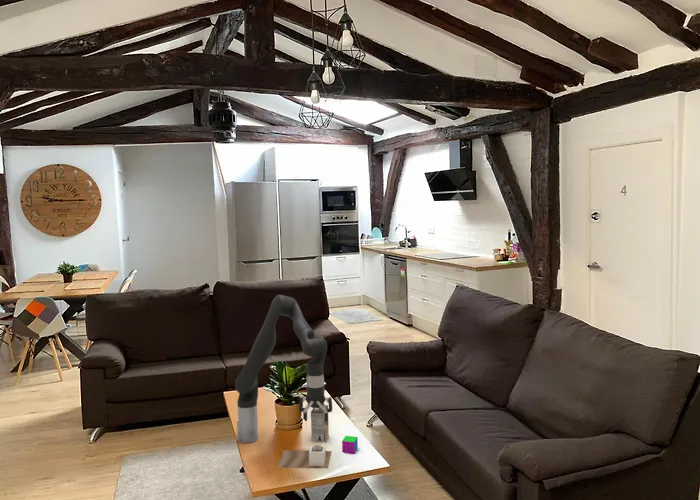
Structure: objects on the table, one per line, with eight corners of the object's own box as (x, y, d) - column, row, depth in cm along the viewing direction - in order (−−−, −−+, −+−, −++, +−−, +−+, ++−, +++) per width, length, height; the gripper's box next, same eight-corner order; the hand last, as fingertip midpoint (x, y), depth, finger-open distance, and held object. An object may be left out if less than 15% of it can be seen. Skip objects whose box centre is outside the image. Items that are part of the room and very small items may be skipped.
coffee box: (316, 436, 269) (315, 404, 267) (329, 436, 268) (328, 404, 266) (311, 444, 260) (310, 411, 258) (324, 445, 259) (323, 412, 257)
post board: (276, 470, 235) (276, 451, 234) (283, 453, 251) (283, 435, 250) (328, 471, 233) (327, 452, 233) (331, 454, 249) (331, 436, 249)
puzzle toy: (357, 448, 255) (357, 436, 254) (354, 454, 249) (354, 442, 249) (345, 447, 256) (345, 435, 256) (342, 452, 251) (342, 440, 250)
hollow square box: (309, 465, 236) (308, 452, 235) (311, 458, 242) (311, 445, 242) (324, 466, 235) (323, 452, 235) (325, 459, 242) (325, 445, 241)
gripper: (297, 386, 233) (298, 423, 234) (330, 387, 231) (331, 424, 233) (300, 381, 240) (301, 416, 242) (332, 381, 239) (333, 417, 240)
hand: (315, 420), depth 237 cm, fingers open, 8 cm apart
